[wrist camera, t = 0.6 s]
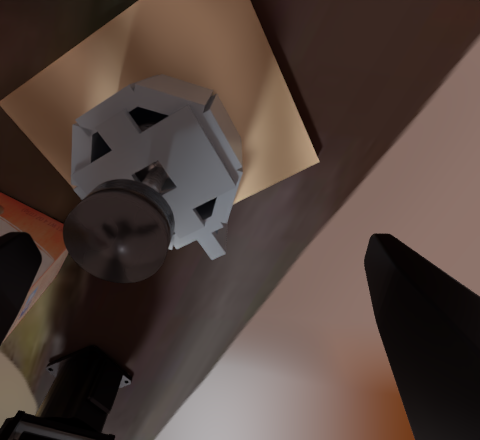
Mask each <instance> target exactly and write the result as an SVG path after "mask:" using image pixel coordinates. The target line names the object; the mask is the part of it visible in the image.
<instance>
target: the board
mask: <svg viewBox="0 0 480 440" xmlns="http://www.w3.org/2000/svg"><path fill="white" fill-rule="evenodd" d="M161 74H164V75H167V76H170V77H173V78H177V79H180V80H183V81H186V82H189V83H192V84H196V85H199V86H202V87H205V88H208V89H211V90H213V94H212V96H213V95H215V94H216V93H217V94H218V96H219V98H220V100H221V101H222V103H223V105H224V107H225V109H226V111H227V113H228V114H229V116H230V118H231V120H232V122H233V124H234V126H235V127H236V129H237V131H238V133H239V135H240V137H241V142H242V161H243V174H242V177H241V180H240V183H239V186H238V189H237V192H236V196H235V199H234V202H233V204H235V203H237V202H239V201H241V200H243V199H245V198H247V197H249V196H251V195H253V194H255V193H257V192H259V191H261V190H263V189H265V188H267V187H269V186H271V185H273V184H275V183H277V182H279V181H281V180H283V179H285V178H288V177H290V176H292V175H294V174H296V173H298V172H300V171H302V170H304V169H306V168H308V167H310V166H312V165H314V164H316V163H318V162H319V159H318V157H317V155H316V152H315V150H314V148H313V145H312V143H311V141H310V138H309V136H308V134H307V131H306V129H305V127H304V124H303V122H302V120H301V117H300V115H299V113H298V110H297V108H296V106H295V103H294V101H293V99H292V96H291V94H290V92H289V89H288V87H287V85H286V83H285V80H284V78H283V76H282V73H281V71H280V69H279V66H278V64H277V62H276V59H275V57H274V55H273V52H272V50H271V48H270V45H269V43H268V41H267V38H266V36H265V34H264V31H263V29H262V27H261V24H260V22H259V20H258V17H257V15H256V13H255V10H254V8H253V6H252V3H251V1H250V0H138V1H137V2H136V3H134V4H133V5H132V6H130V7H129V8H127V9H126V10H125V11H123V12H122V13H121V14H119V15H118V16H116V17H115V18H114V19H112V20H111V21H110V22H108V23H107V24H105V25H104V26H103V27H101V28H100V29H99V30H97V31H96V32H94V33H93V34H92V35H90V36H89V37H88V38H86V39H85V40H83V41H82V42H81V43H79V44H78V45H76V46H75V47H74V48H72V49H71V50H70V51H68V52H67V53H65V54H64V55H63V56H61V57H60V58H59V59H57V60H56V61H54V62H53V63H52V64H50V65H49V66H48V67H46V68H45V69H43V70H42V71H41V72H39V73H38V74H37V75H35V76H34V77H32V78H31V79H30V80H28V81H27V82H26V83H24V84H23V85H21V86H20V87H19V88H17V89H16V90H15V91H13V92H12V93H10V94H9V95H8V96H6V97H5V98H4V99H2V100H1V101H0V106H1V107H2V108H3V110H4V111H5V112H6V113H7V114H8V115H9V116H10V118H11V119H12V120H13V121H14V122H15V123H16V124H17V125H18V127H19V128H20V129H21V130H22V131H23V132H24V133H25V134H26V136H27V137H28V138H29V139H30V140H31V141H32V142H33V144H34V145H35V146H36V147H37V148H38V149H39V150H40V151H41V153H42V154H43V155H44V156H45V157H46V158H47V159H48V160H49V162H50V163H51V164H52V165H53V166H54V167H55V168H56V170H57V171H58V172H59V173H60V174H61V175H62V176H63V177H64V179H65V180H66V181H67V182H68V183H69V184H70V185H71V160H72V125H73V124H75V123H77V122H76V121H75V119H77V118H79V117H80V116H82V115H83V114H85V113H86V112H88V111H89V110H91V109H92V108H94V107H95V106H97V105H98V104H100V103H101V102H103V101H105V100H106V99H108V98H109V97H111V96H112V95H114V94H115V93H117V92H118V91H120V90H121V89H123V88H124V87H126V86H128V85H129V84H132V83H135V82H138V81H141V80H143V79H146V78H149V77H152V76H155V75H161ZM71 186H72V188H73V189H74V188H75V187H76V186H75V185H71Z"/></svg>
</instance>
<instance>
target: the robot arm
mask: <svg viewBox="0 0 480 440" xmlns="http://www.w3.org/2000/svg"><path fill="white" fill-rule="evenodd" d="M41 263H42V254H41V252H40V251H39V249H38V247H37V245H36V244H35V242H34V240H33V238H32V236H31V235H30V234H29V233H27V232H9V233H6V234H4V235H2V236H0V346H1V344H2V342H3V341H4V339H5V337H6V335H7V333H8V332H9V330H10V328H11V326H12V325H13V323H14V321H15V319H16V317H17V316H18V314H19V312H20V310H21V308H22V305H23V303H24V301H25V299H26V297H27V294H28V292H29V290H30V288H31V285H32V283H33V281H34V279H35V276H36V274H37V272H38V270H39V267H40V265H41ZM364 266H365V271H366V276H367V281H368V286H369V291H370V296H371V301H372V306H373V310H374V315H375V319H376V323H377V326H378V329H379V333H380V336H381V339H382V342H383V345H384V348H385V351H386V353H387V357H388V360H389V363H390V366H391V369H392V372H393V375H394V378H395V381H396V384H397V387H398V390H399V393H400V396H401V399H402V402H403V405H404V408H405V411H406V414H407V417H408V420H409V423H410V426H411V429H412V431H413V435H414V438H415V440H480V296H478V295H477V294H475V293H474V292H472V291H471V290H470V289H468V288H467V287H465V286H464V285H462V284H461V283H460V282H458V281H457V280H455V279H454V278H452V277H451V276H449V275H448V274H447V273H445V272H444V271H442V270H441V269H440V268H438V267H437V266H435V265H434V264H432V263H431V262H430V261H428V260H427V259H425V258H424V257H422V256H421V255H419V254H418V253H417V252H415V251H414V250H412V249H411V248H409V247H408V246H407V245H405V244H404V243H402V242H401V241H400V240H398V239H397V238H395V237H394V236H392V235H391V234H373V235H372V236H371V237H370V240H369V244H368V248H367V251H366V255H365V259H364ZM46 370H47V371H48V372H49V373H51V374H52V375H53V376H55V377H56V378H55V380H54V382H53V384H52V386H51V387H50V389H49V391H48V393H47V395H46V396H45V398H44V400H43V402H42V404H41V406H40V407H39V409H38V411H37V413H36V415H35V416H34V415H31V414H27V413H25V412H24V411H20V410H19V411H18V412H17V414H16V415H15V417H12V418H7V419H6V420H5V422H4V424H3V425H2V427H1V428H0V440H114V439H115V435H112V434H109V435H108V434H104V433H102V430H103V427H104V424H105V421H106V418H107V416H108V414H109V413H110V412H111V409H112V406H113V403H114V400H115V398H116V395H117V392H118V389H119V388H121V387H124V386H127V385H129V384H131V382H132V377H130V376H129V375H128V374H127V373H126V372H125V371H123V370H122V369H121V368H120V367H119V366H118V365H116V364H115V363H114V362H113V361H112V360H111V359H109V358H108V357H107V356H106V355H105V354H104V353H102V352H101V351H100V350H99V349H98V348H96V347H94V346H89V347H87V348H84V349H82V350H80V351H77V352H75V353H73V354H70V355H68V356H65V357H63V358H61V359H58V360H56V361H54V362H51V363H49V364H48V365H47V367H46Z"/></svg>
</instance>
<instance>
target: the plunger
mask: <svg viewBox="0 0 480 440" xmlns="http://www.w3.org/2000/svg"><path fill="white" fill-rule="evenodd" d="M156 123H158V122H152V123H145V124H141V125H138V127H139V128H140V130H141V131H142V132H143V131H144V130H146V129H148V128H149V127H151V126H153V125H154V124H156ZM134 174H135V175H136V176H137V178H138V179H139V180H140V182H138V181H134V180H129V179H115V180H110V181H106V182H104V183H102V184H100V185H98V186H97V187H95V188H94V189H93V190H92V191H91V192H90V193H89V194H88V195H87V196H86V197H85V198H84V199H83V200H82V201H81V202H80V203H79V204H78V205H77V206H76V207H75V208H74V209H73V210H72V211H71V212H70V213H69V215H68V216H67V218H66V220H65V222H64V226H63V240H64V244H65V246H66V249H67V251H68V253H69V254H70V256H71V257H72V258H73V260H74V261H75V262H76V263H77V264H78V265H79V266H80V267H81V268H83V269H84V270H85V271H87V272H88V273H90V274H92V275H94V276H96V277H98V278H101V279H103V280H107V281H110V282H116V283H133V282H138V281H142V280H144V279H147V278H148V277H150V276H152V275H153V274H155V273H156V272H157V271H158V270H159V269H160V267H161V266H162V264H163V262H164V260H165V257H166V254H167V251H168V248H169V245H170V242H171V240H172V237H173V233H174V229H175V220H174V215H173V212H172V210H171V208H170V206H169V204H168V203H167V201H166V200H165V199H164V197H163V196H162V195H160V194H161V193H163V192H165V191H167V190H169V189H170V188H172V187H174V186H176V185H175V184H174V182H173V181H172V180H171V178H170V177H169V175H168V174H167V172H166V171H165V170H164V168H163V167H162V165H161V164H160V162H159V161H158V160H157V161H156V162H154V163H152V164H150V165H148V166H147V167H145V168H143V169H141V170H140V171H138V172H136V173H134Z"/></svg>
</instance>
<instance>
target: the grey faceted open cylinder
mask: <svg viewBox="0 0 480 440" xmlns="http://www.w3.org/2000/svg"><path fill="white" fill-rule="evenodd" d="M212 94H213V90H211V89H208V88H205V87H202V86H199V85H196V84H192V83H189V82H186V81H183V80H180V79H177V78H173V77H170V76H167V75H164V74H161V75H155V76H152V77H149V78H146V79H143V80H141V81H138V82H135V83H132V84H129V85H128V86H126V87H124V88H123V89H121V90H120V91H118V92H117V93H115V94H114V95H112V96H111V97H109V98H108V99H106V100H105V101H103V102H101V103H100V104H98V105H97V106H95V107H94V108H92V109H91V110H89V111H88V112H86V113H85V114H83V115H82V116H80V117H79V118H77V119H75V121H76V122H77V123H75V124H73V125H72V160H71V185H75V186H76V187H75V188H74V189H73V190H74V191H75V193H76V194H77V195H78V196H79V197H80V198H81V199H82V200H83V199H84V198H85V197H86V196H87V195H88V194H89V193H90V192H91V191H92V190H93V189H94V188H95V187H97V186H98V185H100V184H102V183H104V182H106V181H110V180H115V179H129V180H134V181H138V182H140V180H139V179H138V178H137V176H136V175H135V174H134V173H136V172H138V171H140V170H141V169H143V168H145V167H147V166H148V165H150V164H152V163H154V162H156V161H157V160H158V161H159V162H160V164H161V165H162V167H163V168H164V170H165V171H166V172H167V174H168V175H169V177H170V178H171V180H172V181H173V182H174V184H175V185H176V186H174V187H172V188H170V189H169V190H167V191H165V192H163V193H161V194H160V195H162V196H163V197H164V199H165V200H166V201H167V203H168V204H169V206H170V208H171V210H172V212H173V215H174V220H175V229H174V233H173V237H172V240H171V242H170V245H169V248H168V249H171V250H172V248H173V245H174V246H175V248H176V249H179V248H181V247H183V246H185V245H187V244H189V243H191V242H193V241H195V240H197V241H198V242H199V243H200V245H201V246H202V247H203V249H204V250H205V251H206V253H207V254H208V256H209V257H210V258H211V260H213V259H215V258H218V257H220V256H222V255H224V254H226V244H227V226H228V222H227V221H228V218H229V215H230V211H231V208H232V205H233V202H234V199H235V196H236V192H237V189H238V186H239V183H240V180H241V177H242V174H243V161H242V142H241V137H240V135H239V133H238V131H237V129H236V127H235V126H234V124H233V122H232V120H231V118H230V116H229V114H228V113H227V111H226V109H225V107H224V105H223V103H222V101H221V100H220V98H219V96H218V94H217V93H216V94H215V95H213V96H212ZM152 122H158V123H156V124H154V125H153V126H151V127H149V128H148V129H146V130H144V131H143V132H142V131H141V130H140V128H139V127H138V125H141V124H145V123H152Z"/></svg>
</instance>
